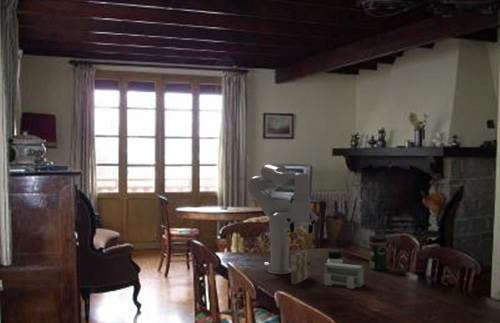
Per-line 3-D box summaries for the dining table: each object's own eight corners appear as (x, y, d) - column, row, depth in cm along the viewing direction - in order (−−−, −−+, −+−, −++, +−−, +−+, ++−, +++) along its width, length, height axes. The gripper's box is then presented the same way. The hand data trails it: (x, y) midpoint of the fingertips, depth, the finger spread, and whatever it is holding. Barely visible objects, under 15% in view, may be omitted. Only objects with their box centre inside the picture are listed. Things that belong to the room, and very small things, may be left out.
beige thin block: (297, 284, 255) (297, 255, 255) (291, 283, 257) (291, 255, 257) (311, 277, 271) (311, 250, 271) (304, 276, 273) (305, 249, 273)
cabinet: (320, 284, 256) (320, 266, 256) (328, 280, 265) (328, 262, 265) (357, 289, 247) (357, 270, 247) (363, 284, 257) (363, 265, 257)
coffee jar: (380, 266, 298) (381, 233, 298) (389, 269, 291) (389, 235, 290) (366, 267, 294) (366, 234, 294) (374, 270, 287) (374, 236, 287)
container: (341, 278, 269) (342, 252, 269) (326, 277, 271) (326, 252, 271) (342, 274, 277) (342, 250, 277) (327, 274, 278) (327, 249, 278)
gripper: (282, 197, 265) (282, 232, 265) (315, 199, 256) (314, 234, 257) (288, 196, 271) (288, 230, 271) (320, 198, 263) (320, 232, 263)
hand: (301, 232), depth 264 cm, fingers open, 9 cm apart
